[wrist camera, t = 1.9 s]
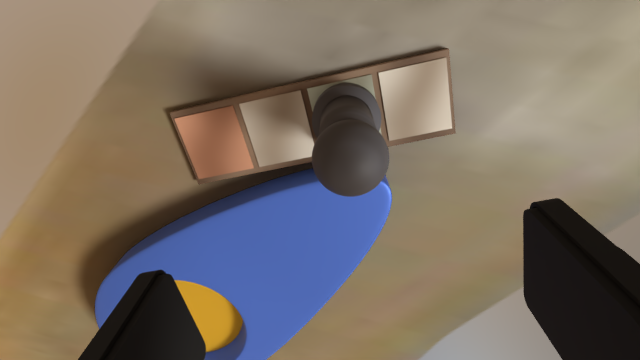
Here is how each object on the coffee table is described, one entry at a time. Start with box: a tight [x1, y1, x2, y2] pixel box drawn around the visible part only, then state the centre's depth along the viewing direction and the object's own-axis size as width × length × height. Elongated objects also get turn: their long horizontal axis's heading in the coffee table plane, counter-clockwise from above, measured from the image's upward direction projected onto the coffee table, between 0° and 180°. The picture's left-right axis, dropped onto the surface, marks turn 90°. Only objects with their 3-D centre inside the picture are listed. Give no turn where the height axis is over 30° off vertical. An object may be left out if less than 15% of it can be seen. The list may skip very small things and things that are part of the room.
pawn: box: [312, 83, 389, 197], centre depth 19 cm, size 4×4×8 cm
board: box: [170, 48, 455, 184], centre depth 23 cm, size 17×5×1 cm, turn 103°
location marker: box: [95, 168, 392, 360], centre depth 27 cm, size 13×3×25 cm
